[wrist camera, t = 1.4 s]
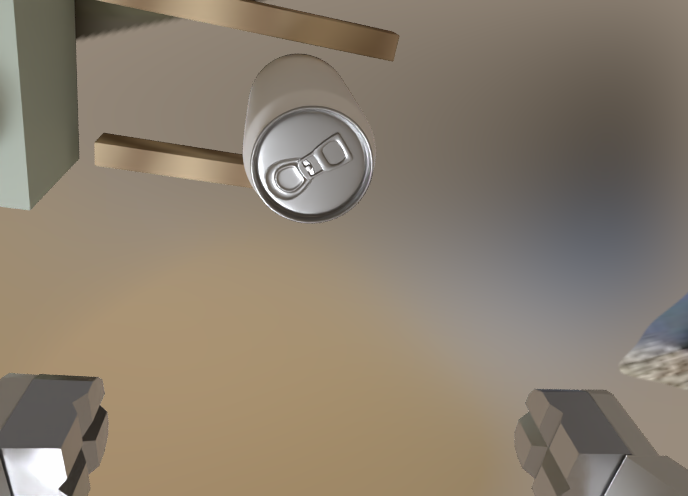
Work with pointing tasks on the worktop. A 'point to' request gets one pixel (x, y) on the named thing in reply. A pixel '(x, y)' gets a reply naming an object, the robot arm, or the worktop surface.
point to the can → (306, 141)
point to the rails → (244, 14)
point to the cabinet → (36, 98)
